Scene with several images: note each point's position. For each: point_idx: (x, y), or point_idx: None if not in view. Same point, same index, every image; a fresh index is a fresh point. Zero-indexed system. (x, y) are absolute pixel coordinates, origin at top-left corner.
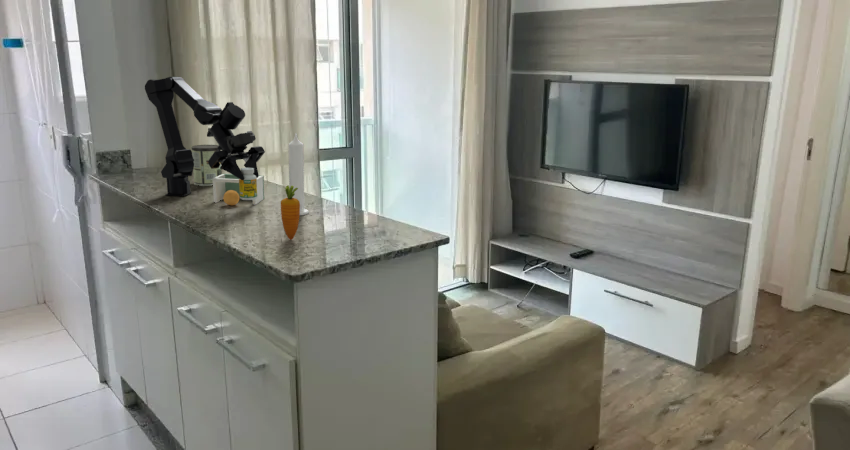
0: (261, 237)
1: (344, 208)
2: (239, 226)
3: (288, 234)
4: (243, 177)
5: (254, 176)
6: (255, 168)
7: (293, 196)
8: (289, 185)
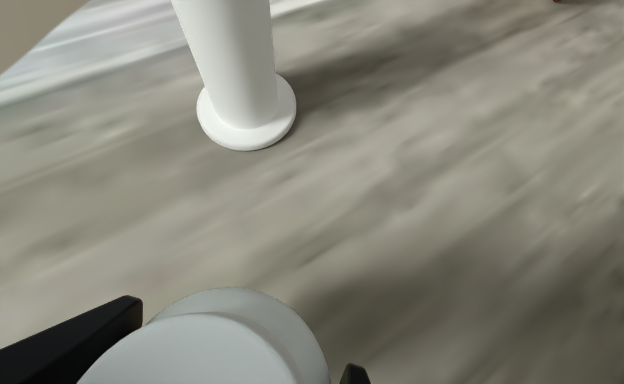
0: (595, 69)
1: (109, 5)
2: (554, 198)
3: None
4: (364, 374)
5: (221, 295)
6: (16, 371)
7: (272, 46)
8: (251, 16)
